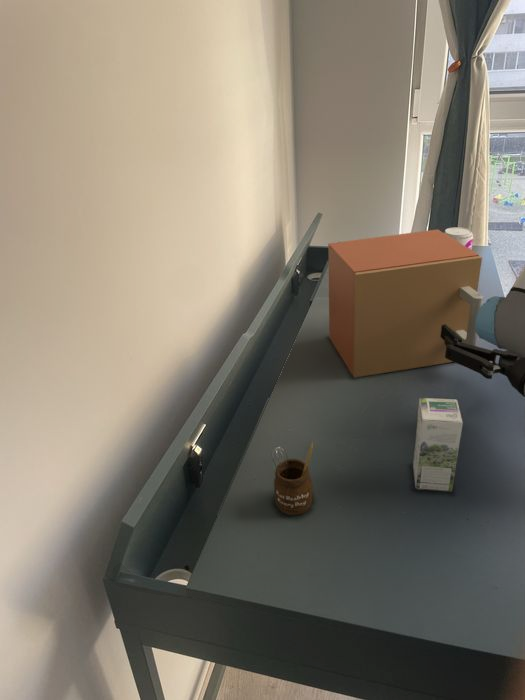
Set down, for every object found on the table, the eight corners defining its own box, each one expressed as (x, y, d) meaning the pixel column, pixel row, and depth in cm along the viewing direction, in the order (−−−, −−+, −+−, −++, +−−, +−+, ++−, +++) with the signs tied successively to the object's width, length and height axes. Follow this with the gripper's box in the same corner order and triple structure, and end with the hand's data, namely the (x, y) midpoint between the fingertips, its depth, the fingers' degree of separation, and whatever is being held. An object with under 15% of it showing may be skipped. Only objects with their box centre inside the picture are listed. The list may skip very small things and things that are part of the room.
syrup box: (448, 468, 88) (457, 396, 81) (452, 494, 83) (463, 420, 76) (412, 465, 89) (419, 395, 82) (415, 491, 84) (422, 418, 77)
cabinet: (464, 357, 117) (479, 254, 105) (352, 375, 114) (354, 271, 102) (429, 322, 133) (437, 229, 121) (329, 337, 130) (328, 243, 118)
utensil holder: (276, 488, 87) (271, 431, 81) (315, 489, 86) (313, 431, 80) (273, 516, 82) (268, 457, 76) (314, 517, 81) (312, 457, 75)
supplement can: (472, 279, 154) (479, 229, 146) (459, 289, 149) (465, 237, 141) (446, 273, 159) (451, 225, 151) (432, 282, 154) (437, 232, 146)
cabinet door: (482, 373, 111) (499, 267, 99) (363, 393, 108) (366, 286, 96) (465, 357, 117) (479, 255, 105) (352, 375, 114) (354, 272, 102)
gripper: (469, 413, 87) (414, 351, 105) (605, 388, 90) (529, 332, 108) (474, 374, 84) (417, 317, 102) (616, 351, 86) (535, 299, 105)
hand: (474, 325), depth 105 cm, fingers open, 13 cm apart
